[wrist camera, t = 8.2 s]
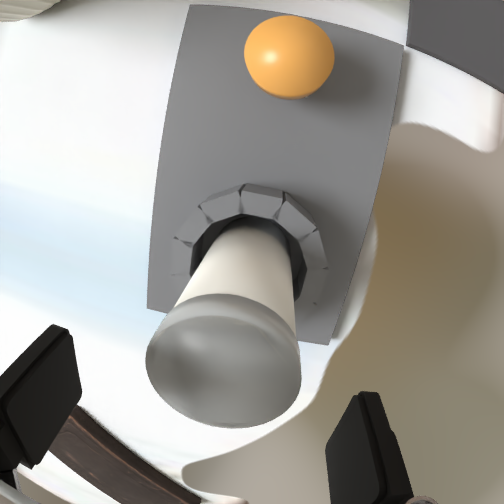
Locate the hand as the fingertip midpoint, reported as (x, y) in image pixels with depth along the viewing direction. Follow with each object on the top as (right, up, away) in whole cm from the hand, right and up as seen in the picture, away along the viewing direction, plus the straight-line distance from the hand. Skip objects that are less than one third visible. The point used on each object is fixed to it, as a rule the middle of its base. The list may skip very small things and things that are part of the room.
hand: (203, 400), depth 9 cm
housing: (+2, +9, +11) cm, 15 cm away
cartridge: (+1, +5, +12) cm, 13 cm away
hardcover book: (-19, -26, +27) cm, 42 cm away
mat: (+17, +22, +5) cm, 28 cm away
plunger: (+4, +16, +8) cm, 18 cm away
